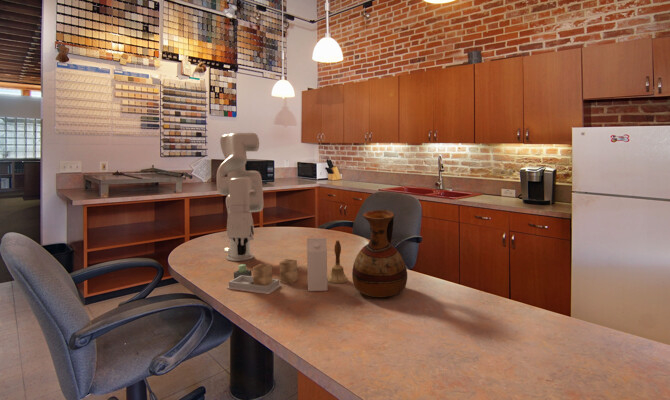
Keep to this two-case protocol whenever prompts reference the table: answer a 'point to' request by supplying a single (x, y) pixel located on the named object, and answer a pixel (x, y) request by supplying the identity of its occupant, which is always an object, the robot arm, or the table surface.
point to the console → (247, 273)
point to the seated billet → (262, 274)
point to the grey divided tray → (252, 285)
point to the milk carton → (317, 264)
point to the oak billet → (288, 271)
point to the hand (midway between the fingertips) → (241, 254)
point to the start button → (242, 268)
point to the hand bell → (337, 268)
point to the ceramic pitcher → (379, 259)
